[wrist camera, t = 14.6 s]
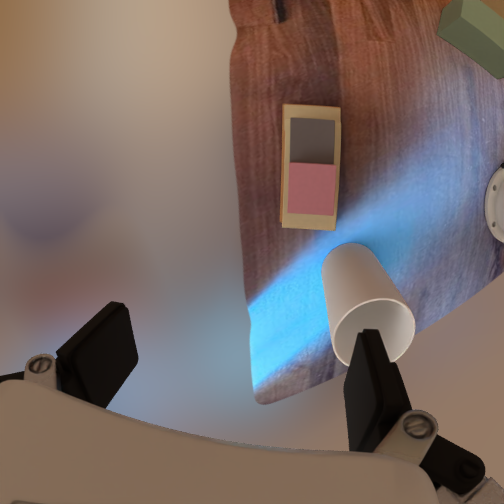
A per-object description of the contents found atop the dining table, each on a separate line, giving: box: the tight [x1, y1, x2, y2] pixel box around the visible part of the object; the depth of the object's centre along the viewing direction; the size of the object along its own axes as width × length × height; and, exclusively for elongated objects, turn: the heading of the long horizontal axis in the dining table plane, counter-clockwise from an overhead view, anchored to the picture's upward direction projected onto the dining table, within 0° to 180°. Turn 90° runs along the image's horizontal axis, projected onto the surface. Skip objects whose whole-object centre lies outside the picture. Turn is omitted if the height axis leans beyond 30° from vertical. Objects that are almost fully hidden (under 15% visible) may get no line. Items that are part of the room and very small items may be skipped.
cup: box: [321, 243, 415, 366], centre depth 32 cm, size 8×8×16 cm
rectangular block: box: [437, 0, 504, 79], centre depth 21 cm, size 12×6×8 cm, turn 69°
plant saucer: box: [480, 0, 504, 19], centre depth 19 cm, size 15×15×3 cm
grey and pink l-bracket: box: [287, 118, 337, 216], centre depth 29 cm, size 10×5×3 cm, turn 179°
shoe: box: [280, 104, 341, 231], centre depth 33 cm, size 15×7×6 cm, turn 179°
